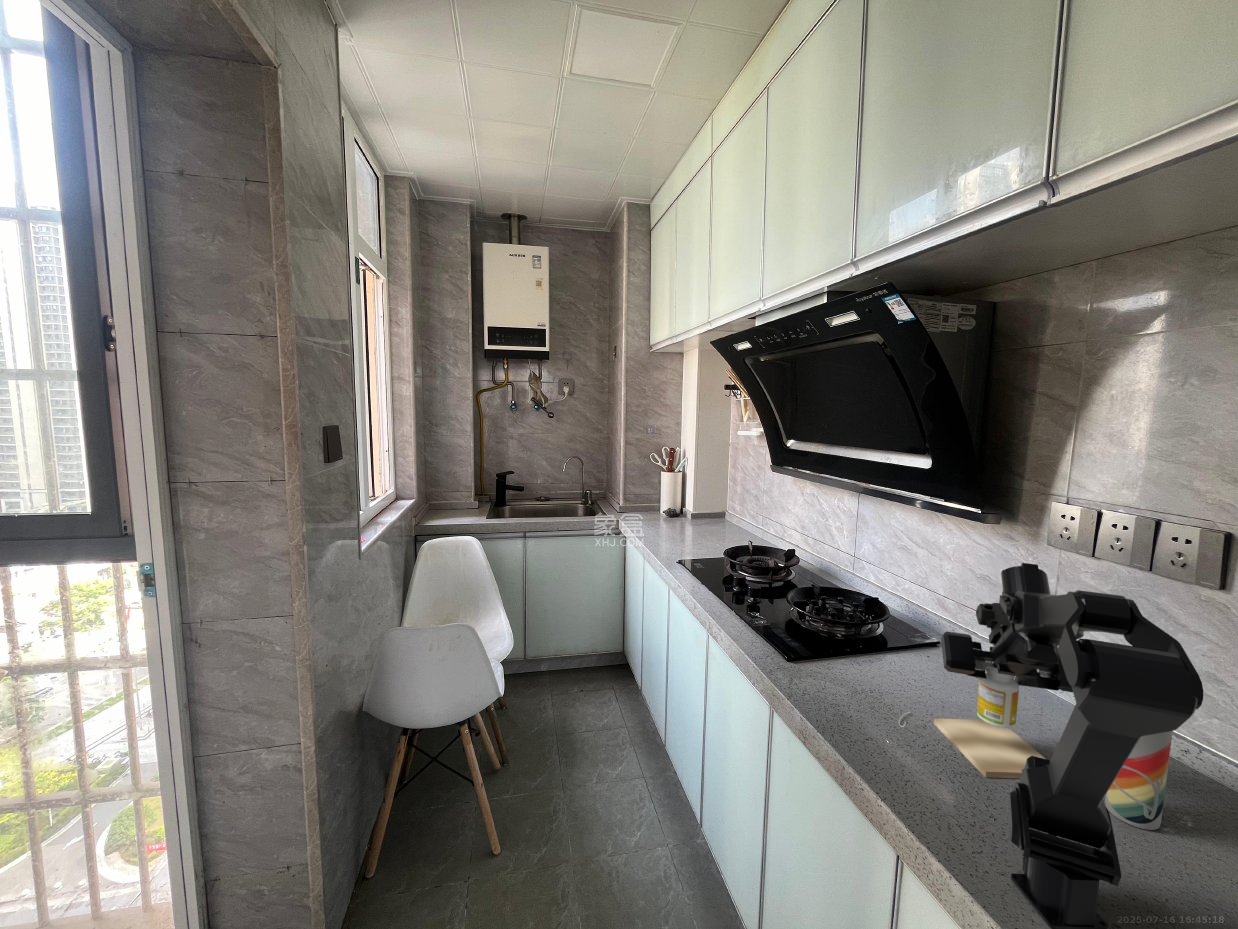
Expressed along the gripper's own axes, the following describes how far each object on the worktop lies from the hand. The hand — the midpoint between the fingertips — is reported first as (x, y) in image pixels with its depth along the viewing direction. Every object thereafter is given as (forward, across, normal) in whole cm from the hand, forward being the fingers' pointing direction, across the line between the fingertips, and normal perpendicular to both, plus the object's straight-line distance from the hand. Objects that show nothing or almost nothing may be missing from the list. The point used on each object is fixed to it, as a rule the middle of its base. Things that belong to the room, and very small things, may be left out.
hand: (996, 678), depth 87 cm
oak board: (+8, 0, +9) cm, 12 cm away
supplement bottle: (+4, 0, +6) cm, 7 cm away
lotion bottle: (+1, -14, +16) cm, 22 cm away
